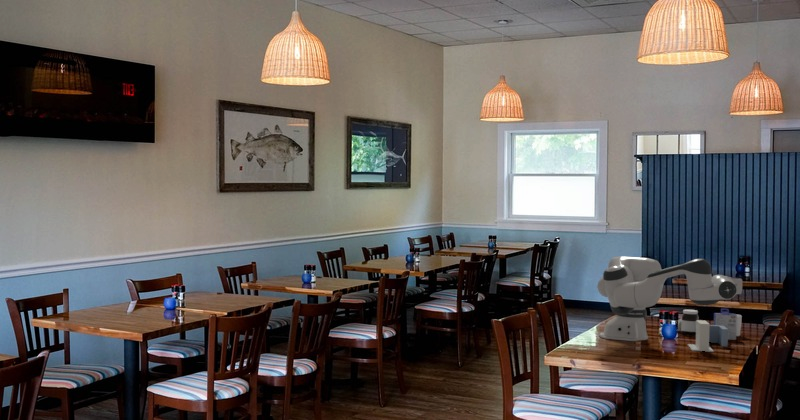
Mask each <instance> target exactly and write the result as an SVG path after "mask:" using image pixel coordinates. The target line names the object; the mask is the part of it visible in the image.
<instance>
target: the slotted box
mask: <svg viewBox="0 0 800 420" xmlns="http://www.w3.org/2000/svg"><path fill="white" fill-rule="evenodd" d="M709 342H711V344H719V345H720V346H721V347H726V348H727V347H728V344H729V340H728V329H727V328H726V327H725V326H719V325H714V324H710V327H709Z"/></svg>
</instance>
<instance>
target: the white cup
mask: <svg viewBox="0 0 800 420" xmlns="http://www.w3.org/2000/svg"><path fill="white" fill-rule="evenodd" d="M735 314H736V313H735ZM736 315H737V321H736V337H740V336H741V330H742V329H741V328H742V317H743V316H742V315H741V314H736Z"/></svg>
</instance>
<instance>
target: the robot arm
mask: <svg viewBox="0 0 800 420" xmlns="http://www.w3.org/2000/svg"><path fill="white" fill-rule="evenodd" d="M712 273H713V271H712V265H711V263H710V262H708V260H706V259H705V258H695V259H692V260H689V261H687V262H685V263H681V264H677V265H674V266H671V267H666V268H664V269H662V266H661V264H660V262H659V261H658V260H657V259H653V258H649V257H641V256H640V257H639V256H624V255H622V256H621V255H620V256H613V257H612V258H611V259H610V261H609V262H608V266H607V268H606V269H604V271H603V274H602V277H601V278H600V279H599V281H598V282H597V285H596V286H597V287H596V288H597V292H599V294H600V295H601V296H602V297H605V298H607V299H608V302H609V305H610V306H609V307H610V310H611V311H612V313H613V314H615V315H616V316H614V317H613V318H611V319H610V320H609V321H606V324H604V325H605V326H604V328H603V331H602V332H600V333H599V335H598V336H599V337H600V338H602V339H606V340H615V341H616V340H617V341H628V342H638V341H647V340H648V339H649V336H648V333H647V327H646V326H647V325H646V321H647V309H646V308H650V307H653V306H655V305H656V304H657V303H658V301H660V299H661V296H662V292H663V289H664V284H665V282H666V280H668V278H672V277H676V276H680V275H685V277H686V283H687V290H688V296H689V300H690V302H692V303H693V304H695V305H698V306H711V305H715V304H717V303H718V302H719V301H720V300H725V301H727V300H731V299H733V298H734V297H735V296H736V295H742V291H743V279H742V278H739V277H730V276H727V275H723V274H716V275H715V274H714V275H712Z"/></svg>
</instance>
